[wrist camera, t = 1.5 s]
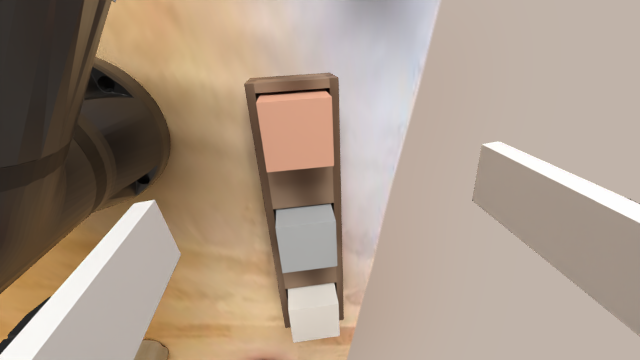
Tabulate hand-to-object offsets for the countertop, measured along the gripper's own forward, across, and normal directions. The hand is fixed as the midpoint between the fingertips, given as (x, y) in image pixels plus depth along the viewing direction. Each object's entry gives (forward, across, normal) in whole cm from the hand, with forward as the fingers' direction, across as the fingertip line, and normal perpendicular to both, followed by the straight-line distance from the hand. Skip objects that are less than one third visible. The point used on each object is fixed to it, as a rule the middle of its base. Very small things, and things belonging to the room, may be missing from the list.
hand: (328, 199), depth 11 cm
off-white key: (+17, -2, -25) cm, 31 cm away
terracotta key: (+18, -1, -1) cm, 18 cm away
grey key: (+17, -1, -13) cm, 22 cm away
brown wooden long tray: (+20, -1, -13) cm, 24 cm away
